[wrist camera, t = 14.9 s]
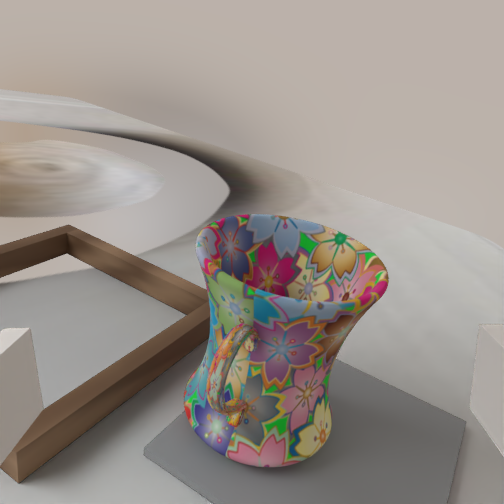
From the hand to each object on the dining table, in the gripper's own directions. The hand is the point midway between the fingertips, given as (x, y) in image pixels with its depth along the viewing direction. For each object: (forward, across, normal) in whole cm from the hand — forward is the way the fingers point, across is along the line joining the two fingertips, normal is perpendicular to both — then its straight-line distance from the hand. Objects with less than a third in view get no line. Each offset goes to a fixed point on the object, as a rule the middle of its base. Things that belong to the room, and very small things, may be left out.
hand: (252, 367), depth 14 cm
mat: (+11, +3, -11) cm, 15 cm away
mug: (+10, -1, -10) cm, 14 cm away
